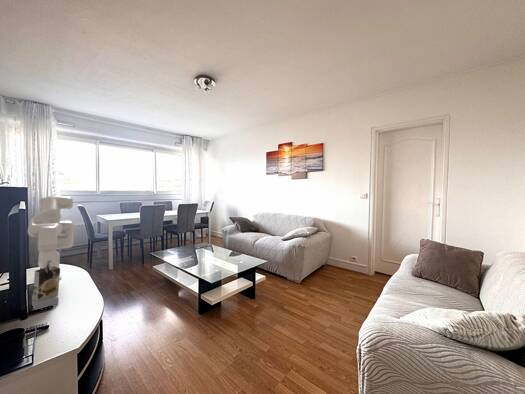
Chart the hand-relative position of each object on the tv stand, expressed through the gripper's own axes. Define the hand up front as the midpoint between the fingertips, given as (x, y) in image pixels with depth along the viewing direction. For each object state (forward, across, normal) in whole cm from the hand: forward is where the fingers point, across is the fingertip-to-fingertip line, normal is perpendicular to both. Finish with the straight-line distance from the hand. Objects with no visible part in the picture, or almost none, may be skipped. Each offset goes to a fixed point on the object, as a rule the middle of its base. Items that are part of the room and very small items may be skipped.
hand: (46, 275), depth 120 cm
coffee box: (+12, +1, 0) cm, 12 cm away
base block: (+17, +1, 0) cm, 17 cm away
